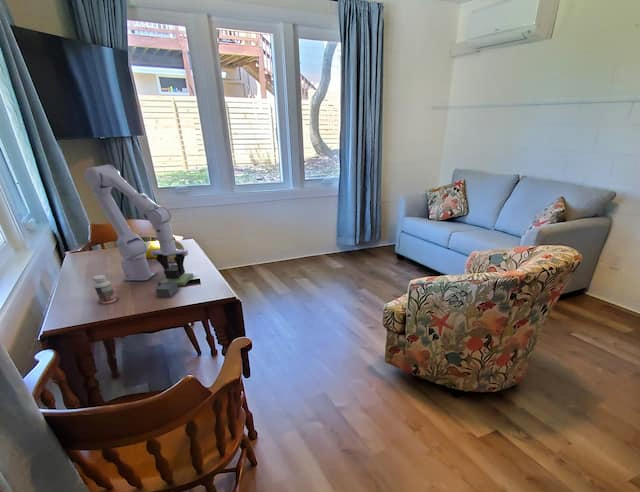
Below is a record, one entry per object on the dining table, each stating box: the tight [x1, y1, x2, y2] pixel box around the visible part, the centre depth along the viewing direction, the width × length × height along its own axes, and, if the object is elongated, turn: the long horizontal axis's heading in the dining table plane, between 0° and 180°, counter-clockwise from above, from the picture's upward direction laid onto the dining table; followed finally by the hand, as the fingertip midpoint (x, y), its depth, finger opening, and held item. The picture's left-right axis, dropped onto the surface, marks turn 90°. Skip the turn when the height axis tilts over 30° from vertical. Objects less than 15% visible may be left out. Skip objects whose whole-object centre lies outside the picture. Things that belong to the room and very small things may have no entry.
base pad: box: [158, 272, 194, 287], centre depth 167 cm, size 10×10×1 cm
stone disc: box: [167, 239, 186, 263], centre depth 185 cm, size 10×4×10 cm, turn 119°
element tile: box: [144, 240, 160, 260], centre depth 197 cm, size 15×15×5 cm
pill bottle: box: [92, 274, 117, 304], centre depth 148 cm, size 5×5×10 cm
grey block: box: [155, 282, 179, 298], centre depth 155 cm, size 5×7×3 cm
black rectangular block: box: [163, 264, 186, 279], centre depth 165 cm, size 5×7×3 cm
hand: (174, 272), depth 165 cm, fingers closed on black rectangular block, 5 cm apart
